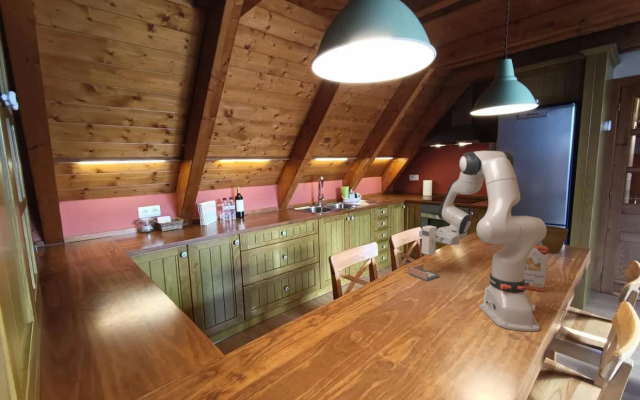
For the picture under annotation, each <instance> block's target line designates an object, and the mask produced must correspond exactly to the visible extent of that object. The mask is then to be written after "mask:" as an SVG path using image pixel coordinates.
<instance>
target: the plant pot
mask: <svg viewBox="0 0 640 400" xmlns="http://www.w3.org/2000/svg"><path fill="white" fill-rule="evenodd" d="M546 229H547V232H546V236H545V238H544V239H543V240H541V241H540V242H541V244H542V245H541V246H546V247H547V248H548V249H549V251H548V254H559V253H560V252H561V250H562V248H563V246H564V244H565V242H566V239H567V236H568V233H569V229H567V228H565V227H560V226H551V225H546Z"/></svg>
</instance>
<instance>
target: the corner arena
mask: <svg viewBox="0 0 640 400" xmlns="http://www.w3.org/2000/svg"><path fill="white" fill-rule="evenodd" d="M424 265H425V264H423V263H419V264H416V265H413V266H412V265H411V266H409V267H408V275H410V276H412V277H414V278H416V279H420V280H421V281H424V282H429V281H432V280H434V279H438V278H440V275H439V274H438V273H435V272H432V271H429V270H427V269H424Z"/></svg>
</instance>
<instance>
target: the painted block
mask: <svg viewBox="0 0 640 400" xmlns="http://www.w3.org/2000/svg"><path fill="white" fill-rule="evenodd" d="M437 229H438V228H437V226H434V225H424V226H422V228H421V230H422V237H421V254H423V255H428V256H430V255H434V254H436V248H437V247H436V246H437V242H432V241H431V240H432V238H436V231H437Z"/></svg>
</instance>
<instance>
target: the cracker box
mask: <svg viewBox="0 0 640 400" xmlns="http://www.w3.org/2000/svg"><path fill="white" fill-rule="evenodd" d="M548 251H549V249H548V248H547V247H546V246H543V245H540V244H539V245H537V244H536V245H535V246H534V247H533V249H532V250H531V252H530V253H529V255H528V257H527V260H526V264H525V271H524V280H525V289H526V290H528V291H529V290H530V291H536V292H541V293H544V292H545V287H546V275H547V269H548V261H549V260H548V259H549V253H548Z"/></svg>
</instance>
